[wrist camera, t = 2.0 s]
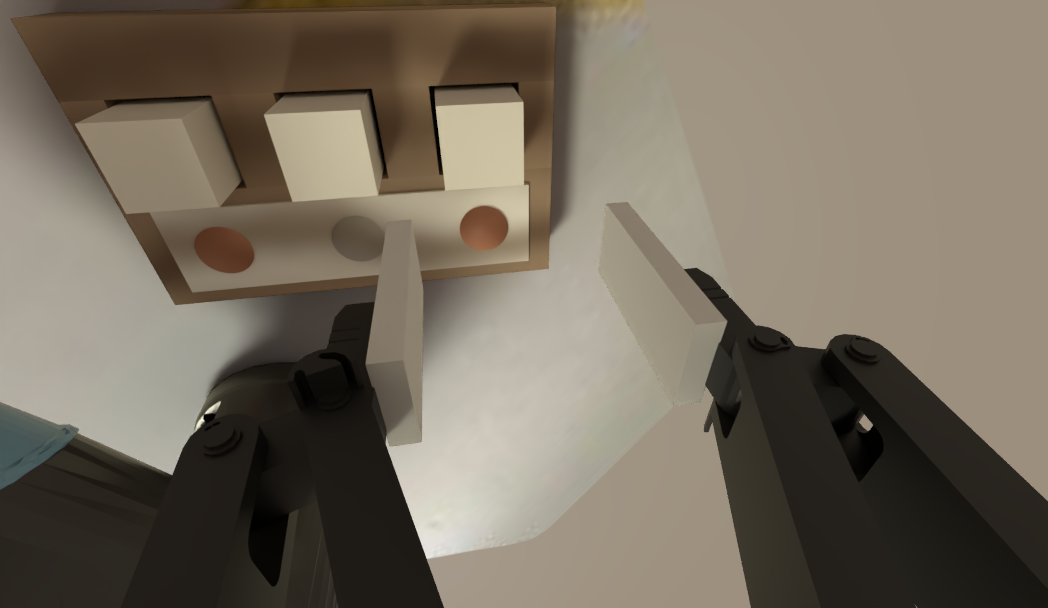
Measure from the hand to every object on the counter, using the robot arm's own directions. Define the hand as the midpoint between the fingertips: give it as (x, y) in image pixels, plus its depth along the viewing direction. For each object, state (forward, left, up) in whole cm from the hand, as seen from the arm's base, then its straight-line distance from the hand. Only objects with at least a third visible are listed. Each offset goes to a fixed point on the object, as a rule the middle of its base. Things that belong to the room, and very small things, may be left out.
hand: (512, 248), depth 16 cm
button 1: (0, 0, -15) cm, 15 cm away
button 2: (0, +16, -15) cm, 22 cm away
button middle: (0, +8, -15) cm, 17 cm away
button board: (-2, +8, -17) cm, 19 cm away
